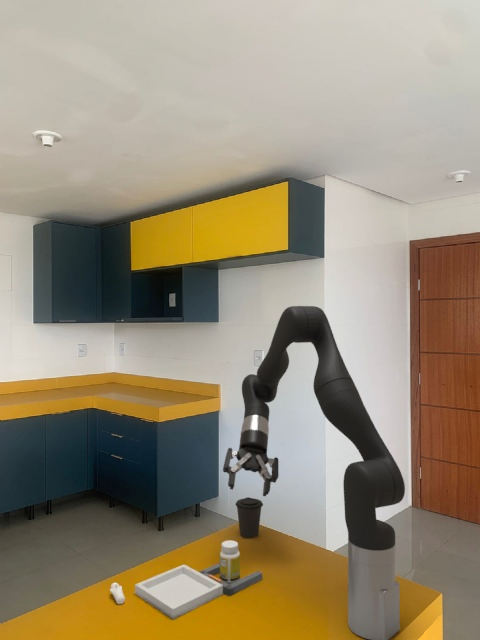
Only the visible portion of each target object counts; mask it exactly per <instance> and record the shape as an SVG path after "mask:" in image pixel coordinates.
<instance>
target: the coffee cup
mask: <svg viewBox="0 0 480 640" xmlns="http://www.w3.org/2000/svg"><path fill="white" fill-rule="evenodd" d="M235 506H236V511H237V518H238V527H239V528H238V529H239V536H240V537H242V538H244V539H254V538H255V539H256V538H257V537H259V532H260V531H259V530H260V521H261V515H262V507H263V506H264V503H263V501H262V500H261V499H258V498H253V497H252V498H251V497H245V498H240V499H238V500H237V501H236V502H235Z"/></svg>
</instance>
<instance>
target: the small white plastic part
mask: <svg viewBox="0 0 480 640" xmlns="http://www.w3.org/2000/svg"><path fill="white" fill-rule="evenodd" d="M109 591H110V593H111V594H112V596H113V598H114V600H115V602H116V603H117V604H118V605H121V604H124V602H125V600H126V596H125V594H124V591H123V587H122V585H120V584H119V583H117V582H113V583H111V585H110V589H109Z"/></svg>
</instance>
